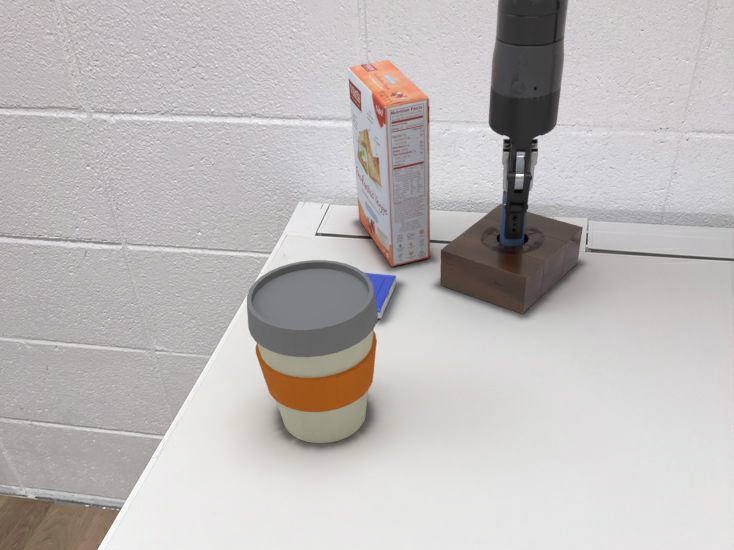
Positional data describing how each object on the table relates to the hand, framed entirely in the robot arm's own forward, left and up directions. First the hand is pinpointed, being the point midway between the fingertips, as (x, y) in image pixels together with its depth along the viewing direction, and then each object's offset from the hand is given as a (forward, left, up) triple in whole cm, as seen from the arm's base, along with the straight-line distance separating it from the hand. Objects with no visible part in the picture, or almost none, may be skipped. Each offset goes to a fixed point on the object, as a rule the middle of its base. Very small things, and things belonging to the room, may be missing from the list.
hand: (513, 229), depth 99 cm
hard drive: (+16, -15, -6) cm, 23 cm away
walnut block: (0, 0, -6) cm, 6 cm away
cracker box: (+1, -18, -6) cm, 19 cm away
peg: (0, 0, -4) cm, 4 cm away
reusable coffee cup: (+35, -2, -6) cm, 36 cm away
